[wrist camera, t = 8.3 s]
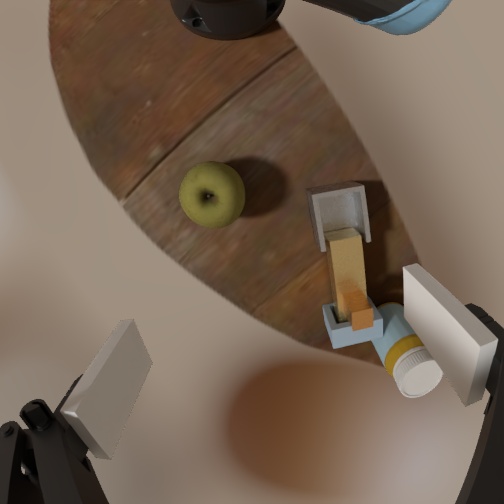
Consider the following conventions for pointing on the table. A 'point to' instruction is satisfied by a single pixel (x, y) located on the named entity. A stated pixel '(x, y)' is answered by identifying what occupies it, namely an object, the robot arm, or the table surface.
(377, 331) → the socket block
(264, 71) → the table surface
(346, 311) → the yellow orange l-shaped block
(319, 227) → the sleeve
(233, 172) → the apple
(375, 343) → the bottle
